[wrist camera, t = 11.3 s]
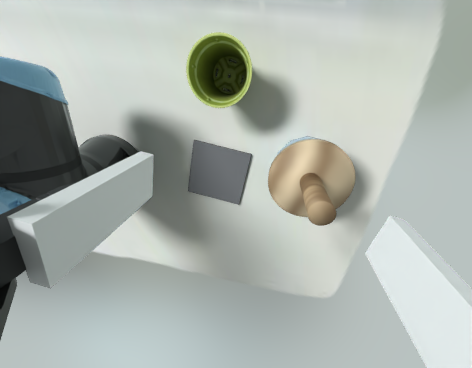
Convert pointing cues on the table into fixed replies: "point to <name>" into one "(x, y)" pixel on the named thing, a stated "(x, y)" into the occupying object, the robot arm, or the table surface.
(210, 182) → the mat
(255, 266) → the table surface
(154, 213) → the table surface
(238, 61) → the plant pot
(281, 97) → the table surface
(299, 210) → the lid
